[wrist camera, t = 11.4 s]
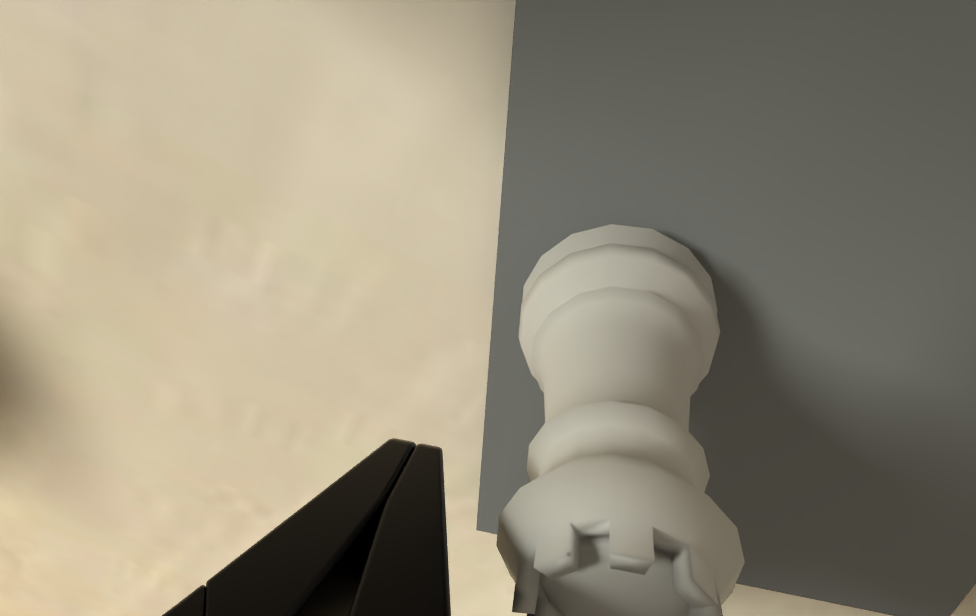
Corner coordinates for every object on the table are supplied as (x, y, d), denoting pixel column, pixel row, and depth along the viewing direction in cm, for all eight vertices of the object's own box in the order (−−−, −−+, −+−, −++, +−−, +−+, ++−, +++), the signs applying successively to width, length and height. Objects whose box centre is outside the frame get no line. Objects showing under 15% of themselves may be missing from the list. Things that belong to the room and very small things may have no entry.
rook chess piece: (743, 344, 14) (869, 707, 7) (573, 401, 15) (539, 733, 9) (668, 181, 12) (735, 438, 5) (490, 265, 14) (368, 538, 7)
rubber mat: (534, -174, 10) (530, -183, 10) (1495, -141, 8) (1554, -150, 8) (480, 515, 19) (476, 529, 19) (932, 606, 17) (942, 625, 17)
